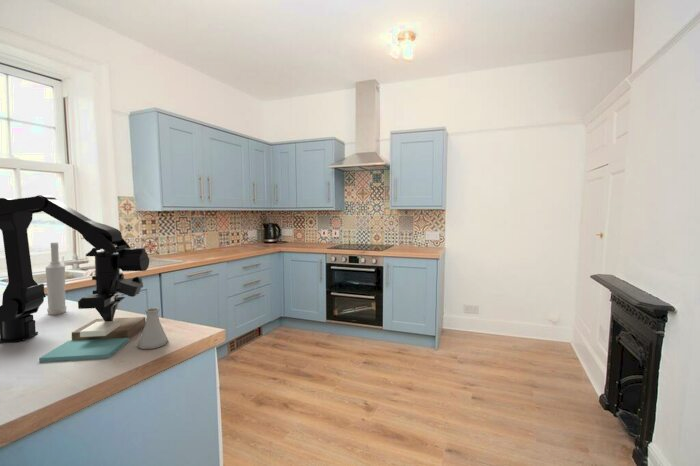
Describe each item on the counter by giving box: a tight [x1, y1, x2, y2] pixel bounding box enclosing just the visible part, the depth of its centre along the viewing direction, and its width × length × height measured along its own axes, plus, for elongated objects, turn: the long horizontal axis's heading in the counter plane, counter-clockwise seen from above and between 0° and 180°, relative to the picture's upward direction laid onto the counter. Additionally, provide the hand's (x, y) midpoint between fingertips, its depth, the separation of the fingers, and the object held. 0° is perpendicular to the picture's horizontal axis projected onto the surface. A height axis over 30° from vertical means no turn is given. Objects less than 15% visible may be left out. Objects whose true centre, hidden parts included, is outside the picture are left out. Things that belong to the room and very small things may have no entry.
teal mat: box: [38, 338, 130, 363], centre depth 87 cm, size 15×11×1 cm
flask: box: [136, 307, 169, 350], centre depth 91 cm, size 7×7×10 cm
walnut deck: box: [71, 316, 146, 340], centre depth 99 cm, size 14×12×3 cm
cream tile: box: [80, 321, 120, 337], centre depth 93 cm, size 6×8×2 cm
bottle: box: [45, 241, 67, 316], centre depth 117 cm, size 5×5×25 cm
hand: (109, 323), depth 98 cm, fingers closed
